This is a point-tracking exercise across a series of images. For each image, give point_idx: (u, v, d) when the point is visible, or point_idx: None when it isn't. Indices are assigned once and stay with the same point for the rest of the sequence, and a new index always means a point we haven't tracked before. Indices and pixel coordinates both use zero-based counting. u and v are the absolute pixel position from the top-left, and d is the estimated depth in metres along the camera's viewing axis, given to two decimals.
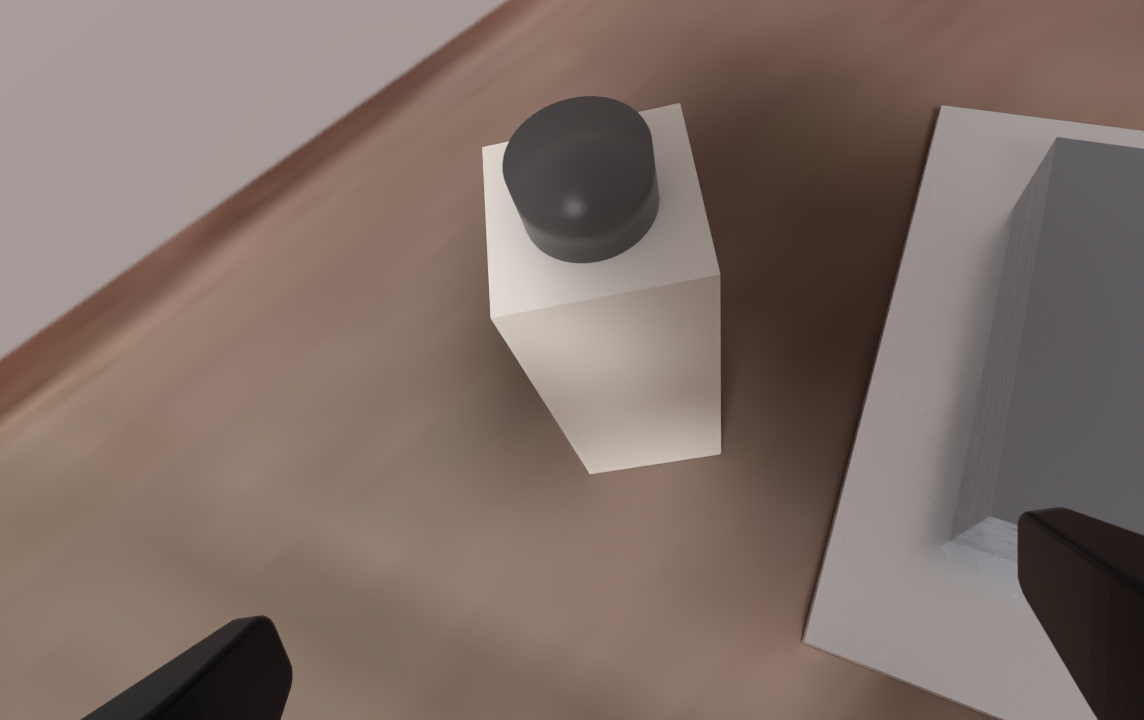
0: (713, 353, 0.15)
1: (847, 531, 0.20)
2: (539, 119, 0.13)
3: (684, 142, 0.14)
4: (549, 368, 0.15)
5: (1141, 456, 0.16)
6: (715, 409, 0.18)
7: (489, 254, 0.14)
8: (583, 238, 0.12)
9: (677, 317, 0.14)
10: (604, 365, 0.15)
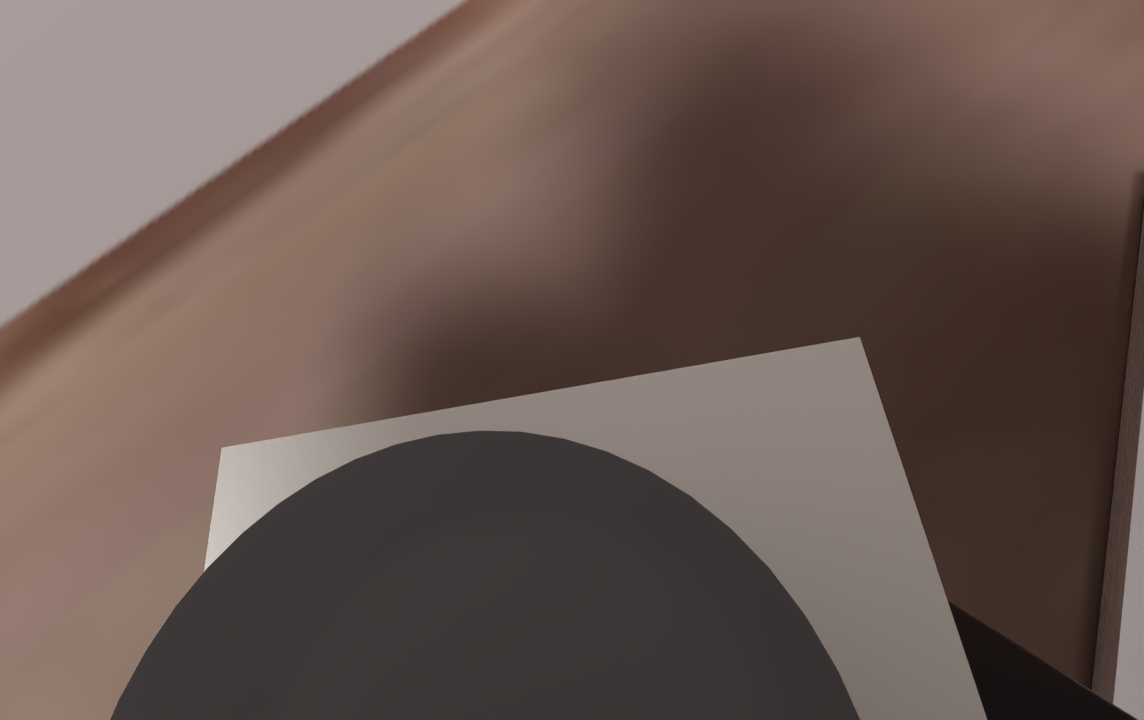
0: None
1: None
2: (296, 542, 0.03)
3: (899, 515, 0.04)
4: None
5: None
6: None
7: None
8: None
9: None
10: None
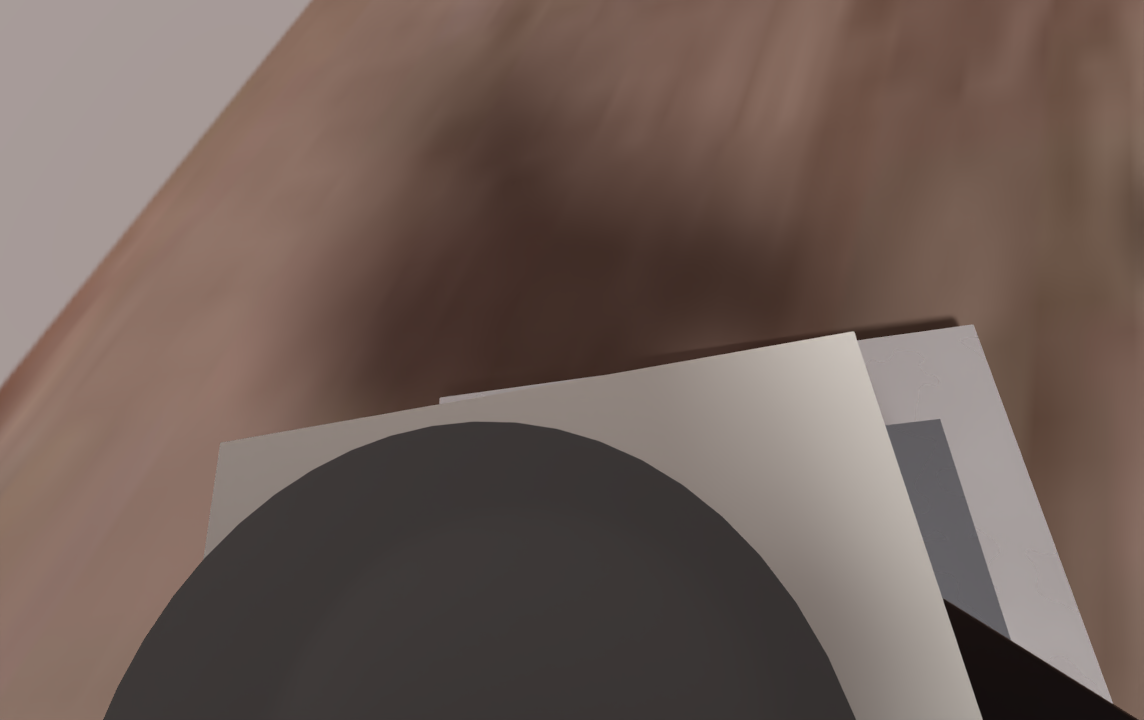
0: None
1: None
2: (290, 531, 0.03)
3: (893, 507, 0.04)
4: None
5: None
6: None
7: None
8: None
9: None
10: None
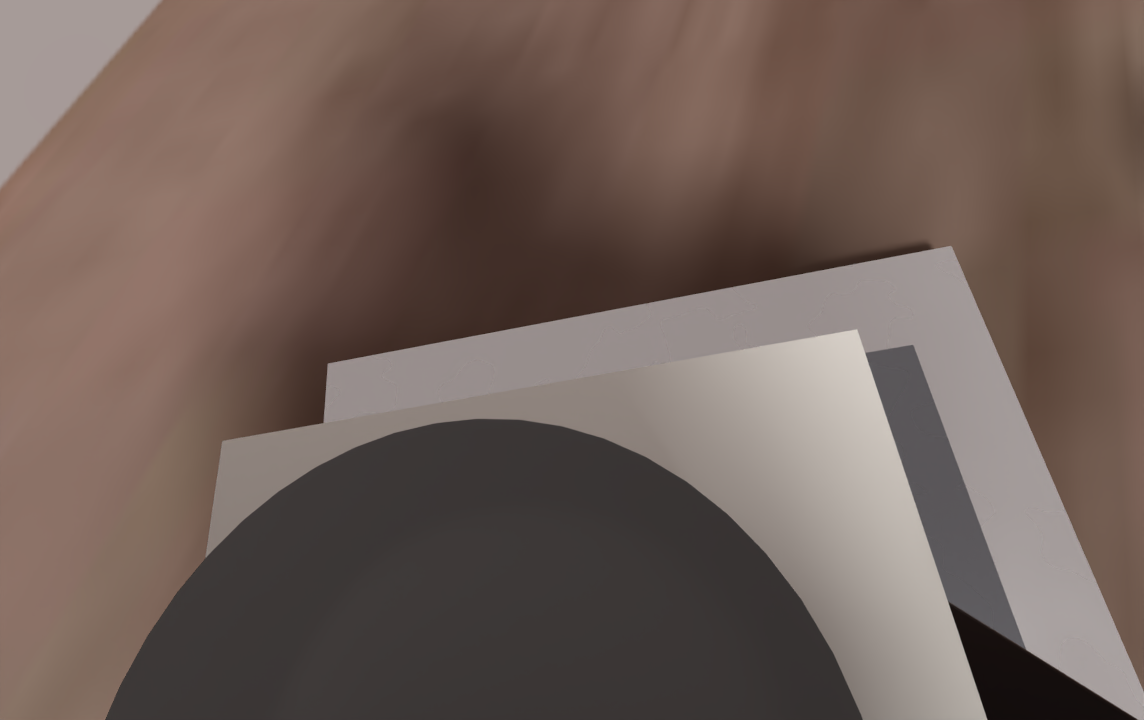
0: None
1: None
2: (295, 528, 0.03)
3: (896, 505, 0.04)
4: None
5: None
6: None
7: None
8: None
9: None
10: None
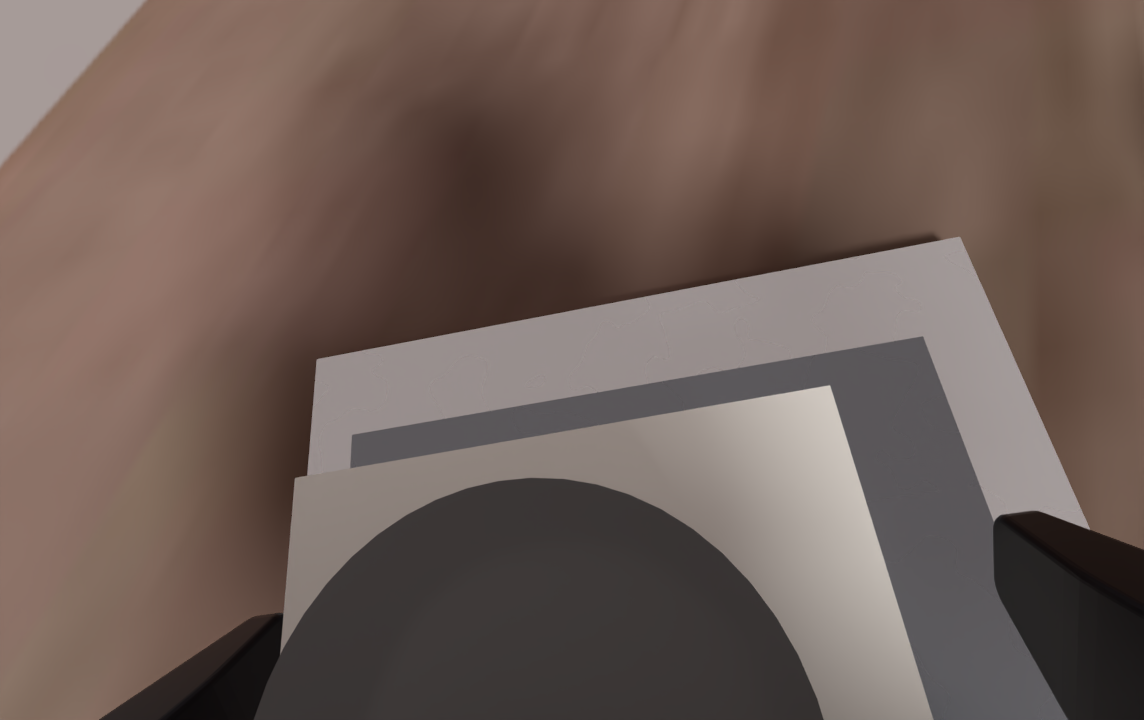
0: None
1: None
2: (392, 563, 0.04)
3: (860, 533, 0.05)
4: None
5: None
6: None
7: None
8: None
9: None
10: None
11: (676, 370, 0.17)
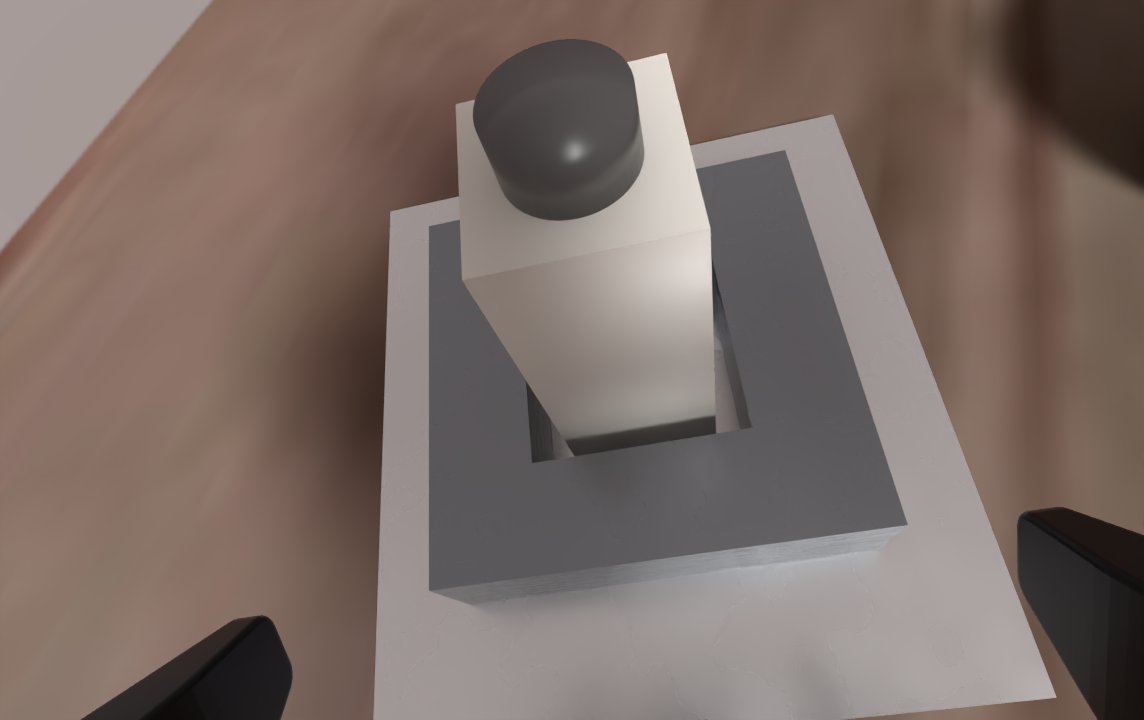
0: (705, 323, 0.14)
1: (387, 638, 0.20)
2: (513, 64, 0.12)
3: (671, 93, 0.13)
4: (530, 341, 0.14)
5: (527, 480, 0.18)
6: (709, 389, 0.17)
7: (462, 214, 0.13)
8: (561, 190, 0.11)
9: (665, 280, 0.13)
10: (589, 338, 0.14)
11: None
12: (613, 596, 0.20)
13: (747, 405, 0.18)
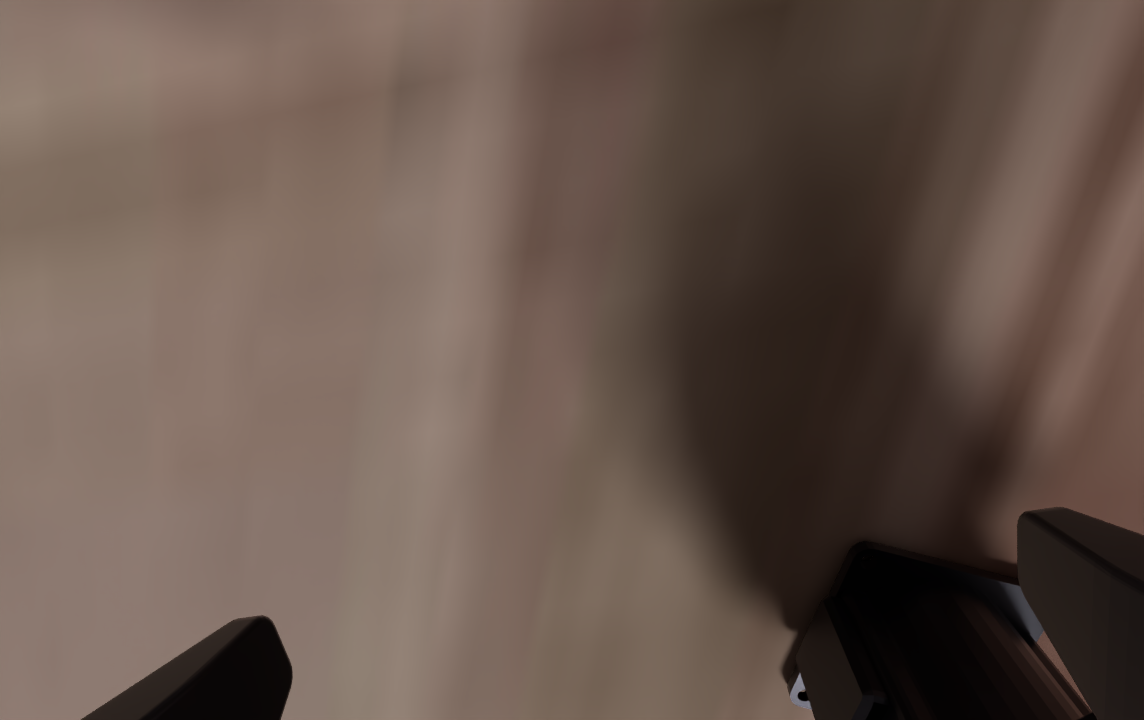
0: None
1: None
2: None
3: None
4: None
5: None
6: None
7: None
8: None
9: None
10: None
11: None
12: None
13: None
